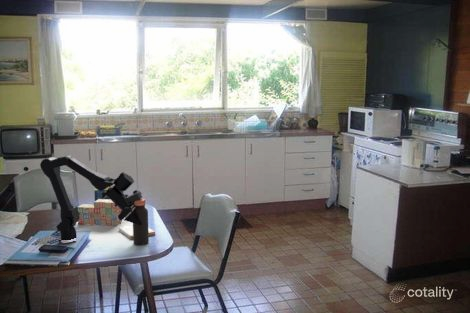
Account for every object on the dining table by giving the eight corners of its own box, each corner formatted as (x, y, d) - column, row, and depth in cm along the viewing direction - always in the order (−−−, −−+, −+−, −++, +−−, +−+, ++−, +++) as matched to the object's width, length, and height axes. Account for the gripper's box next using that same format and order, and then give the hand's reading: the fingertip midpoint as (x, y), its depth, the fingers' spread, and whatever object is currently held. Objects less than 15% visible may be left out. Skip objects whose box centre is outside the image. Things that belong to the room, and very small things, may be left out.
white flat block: (131, 239, 213) (131, 236, 212) (119, 230, 226) (119, 227, 226) (155, 234, 219) (155, 231, 219) (142, 226, 232) (142, 223, 232)
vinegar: (134, 246, 204) (132, 202, 201) (133, 241, 210) (131, 198, 207) (149, 244, 206) (148, 201, 203) (148, 239, 212) (146, 197, 209)
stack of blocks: (77, 224, 236) (76, 201, 234) (83, 221, 242) (81, 198, 241) (117, 226, 234) (116, 202, 232) (122, 222, 240) (121, 199, 238)
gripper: (124, 190, 195) (150, 216, 196) (136, 181, 214) (160, 205, 214) (106, 208, 197) (132, 233, 198) (120, 197, 215) (144, 221, 216)
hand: (143, 222), depth 206 cm, fingers closed on vinegar, 7 cm apart
